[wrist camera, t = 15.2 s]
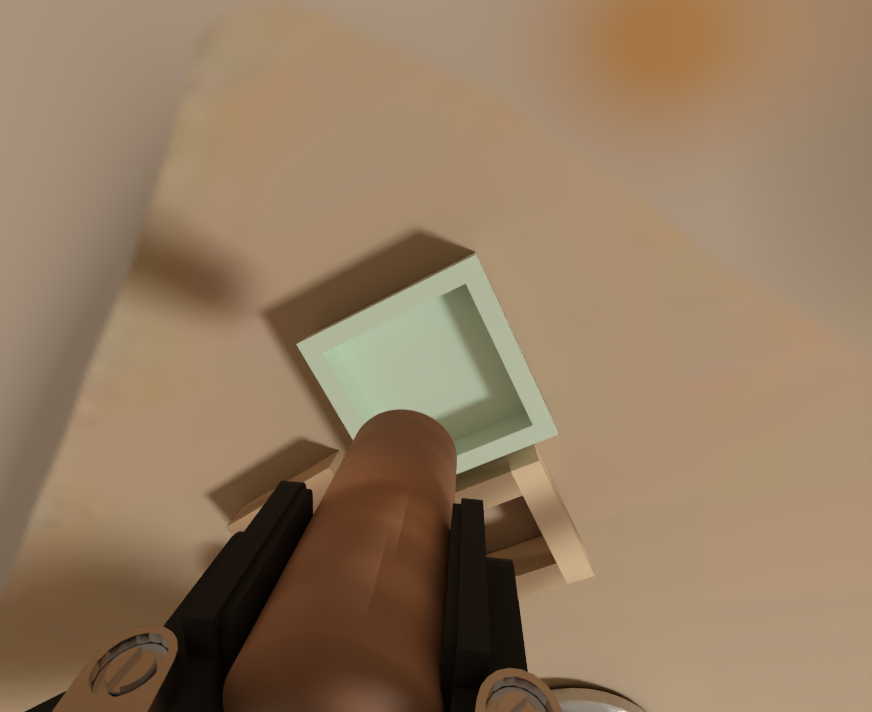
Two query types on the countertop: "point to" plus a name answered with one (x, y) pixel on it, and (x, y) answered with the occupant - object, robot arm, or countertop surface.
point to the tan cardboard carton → (312, 477)
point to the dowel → (361, 585)
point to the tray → (435, 364)
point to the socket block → (560, 543)
